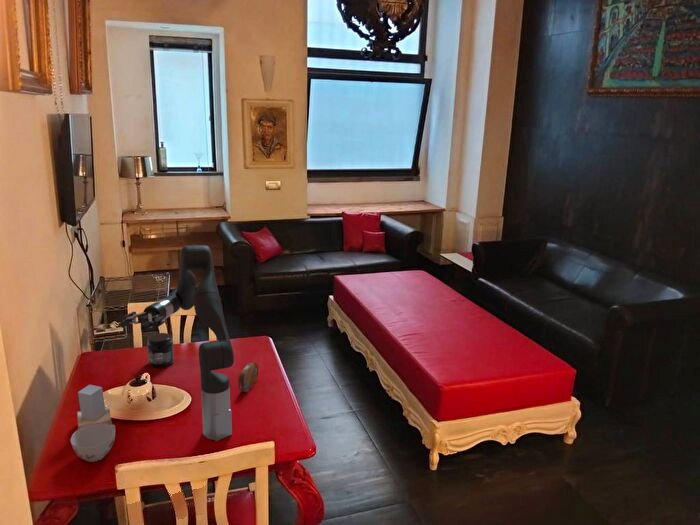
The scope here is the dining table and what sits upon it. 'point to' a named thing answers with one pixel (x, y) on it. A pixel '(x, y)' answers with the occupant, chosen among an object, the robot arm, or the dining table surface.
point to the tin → (248, 377)
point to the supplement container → (160, 350)
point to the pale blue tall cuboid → (91, 402)
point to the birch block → (102, 420)
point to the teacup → (93, 441)
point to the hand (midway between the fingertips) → (131, 326)
